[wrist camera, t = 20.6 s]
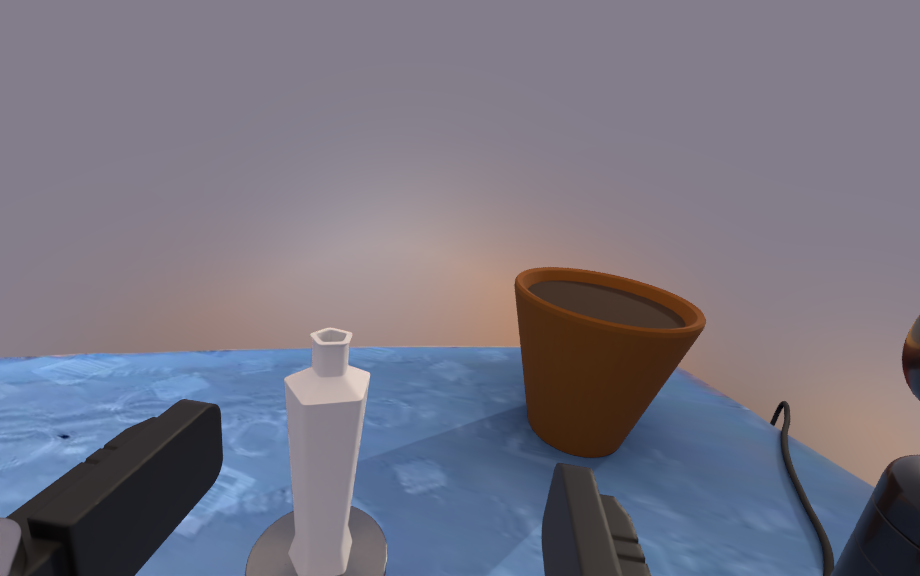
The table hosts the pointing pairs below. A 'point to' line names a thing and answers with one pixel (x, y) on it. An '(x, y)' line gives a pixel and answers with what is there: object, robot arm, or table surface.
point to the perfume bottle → (324, 452)
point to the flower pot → (596, 353)
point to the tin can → (269, 556)
